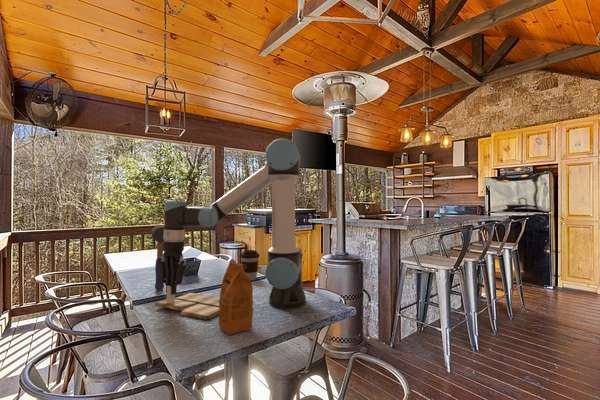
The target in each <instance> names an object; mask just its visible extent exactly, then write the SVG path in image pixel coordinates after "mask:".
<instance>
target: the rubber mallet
mask: <svg viewBox="0 0 600 400" xmlns="http://www.w3.org/2000/svg"><path fill="white" fill-rule="evenodd" d="M150 234H151V237H152V239H153V240H154V241H155V242H157V243H156V245H157V246H156V248H157V249H156V258H155V259H156V260H155V284H154V289H155V290H156V291H157V290H160V291H163V290H164V289H165V283H162V280H161V271H160V263H159V261H158V258H159V257H162V256H163V254H164V251H163V242H164V241H165V240H164V239H163V235H164V225H160V224H159V225H155V226H154V227H153V228H152V229H151V233H150Z"/></svg>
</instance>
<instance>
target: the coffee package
mask: <svg viewBox="0 0 600 400" xmlns="http://www.w3.org/2000/svg"><path fill="white" fill-rule="evenodd" d="M246 268H247V267H246V265H244V264H242V263H237V262H236V261H235V259H234V258H232V259H230V261H229V264H228V265H227V268H226V270H225V273H224V275H223V278H222V281H221V287H220V291H219V293H220V294H219V297H220V299H219V314H218V325H219V327H220V329H221V331H222V332H223V331H224V333H225V332H226V334H227V335H228V336H230V335H234V334H236V333H239V332H241V331H242V332H243V331H248V330H250V329H252V328H253V316H254V309H253V303H254V300H253V299H254V297H253V291H254V290H253V289H254V286H253V283H252V281H251V280H249V278H248V276H247V275H246V273H245V271H244V269H246Z"/></svg>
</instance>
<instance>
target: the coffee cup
mask: <svg viewBox="0 0 600 400" xmlns="http://www.w3.org/2000/svg"><path fill="white" fill-rule="evenodd" d="M240 258H241V264H244V265H246V267H247V268H246V269H244V271H245V273H246V275H247V276H248V278H249V280H250V281H255V280H257V278H258V277H257V275H258V269H259V267H258V266H259V258H260V253H258V252H257V250H252V249H249V250H248V249H247V250H243V252H242V253H240Z"/></svg>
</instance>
